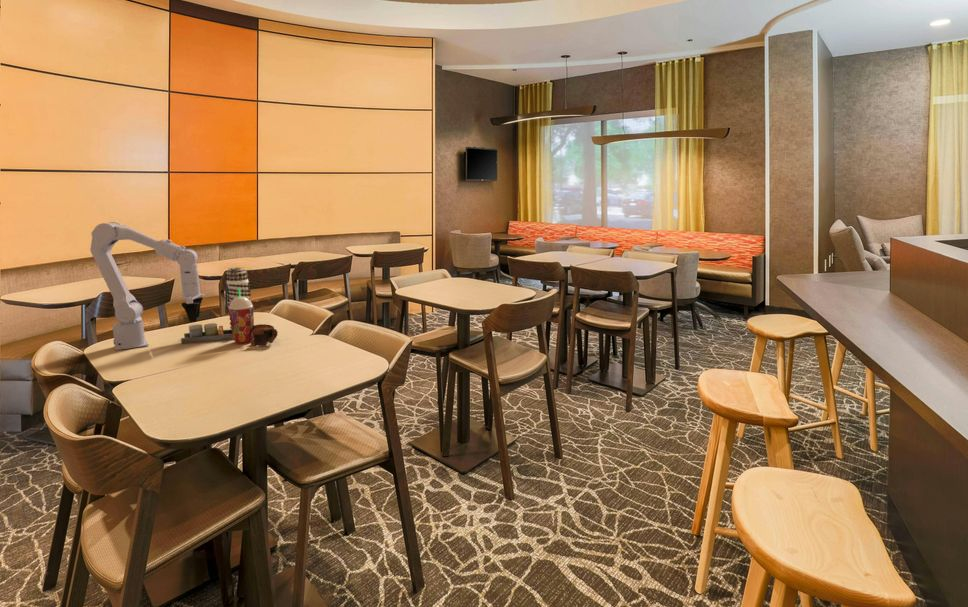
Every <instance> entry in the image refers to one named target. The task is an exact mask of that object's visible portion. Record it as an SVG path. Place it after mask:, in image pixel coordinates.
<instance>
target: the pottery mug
mask: <svg viewBox="0 0 968 607" xmlns="http://www.w3.org/2000/svg"><path fill="white" fill-rule="evenodd" d="M251 332H252V334H253V337H254V339H253V340H251V341H250V343H249V344H250V346H252V347H255V346H257V347H267V345H268V343H269V344H272V343H274V341H275V339H277V336H278V332H279V331H278V330H277V329H276V328H275V327H274V326H273V325H271V324H265V323H264V324H254V326H253V329H252V330H251V331H250V333H251Z"/></svg>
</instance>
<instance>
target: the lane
mask: <svg viewBox="0 0 968 607" xmlns="http://www.w3.org/2000/svg"><path fill="white" fill-rule="evenodd" d="M223 332H224V334H223V335H212V336H205V331H203V336H200V337H190V333H189V332H188V333H186V332H185V333H184V335H183V337H181V338H180V343H181V345H187V344H188V345H190V344H195V343H196V344H198V343H209V342H221V341H222V342H223V341H231V340H233V341H234V338H233V332H232V329H231V328H230V329H223Z"/></svg>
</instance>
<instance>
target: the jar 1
mask: <svg viewBox="0 0 968 607" xmlns="http://www.w3.org/2000/svg"><path fill="white" fill-rule="evenodd" d="M188 330H189V332H188V333H190V337H200V336H203V332H204V327H203V324H201V323H200V324H191V325H189V326H188Z"/></svg>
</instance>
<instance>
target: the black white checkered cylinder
mask: <svg viewBox="0 0 968 607" xmlns="http://www.w3.org/2000/svg"><path fill="white" fill-rule="evenodd" d="M248 272H249V271H248V270H246V269H245V268H244V267H231V268H228V269H227V270H226V272H225V274H226V286H225V290H226V291H225V293H226V294H227V295H226V301H227V303H228V304H229V305H230V303H231V301H232V300H233V299H234V298H236V297H239V292H238V289H240V292H241V296H242V297H246V298H248V299H249V300H250V301H251V302H252V299H251V298H250V297H251V296H252V293H250V292H252V290H251V289H249V288H251V284H250V283H251V281H249V278H248ZM228 317H230V315H229V314H228ZM229 325H230V326H229V328H230V330H231V329H232V326H231V321H229Z"/></svg>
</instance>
